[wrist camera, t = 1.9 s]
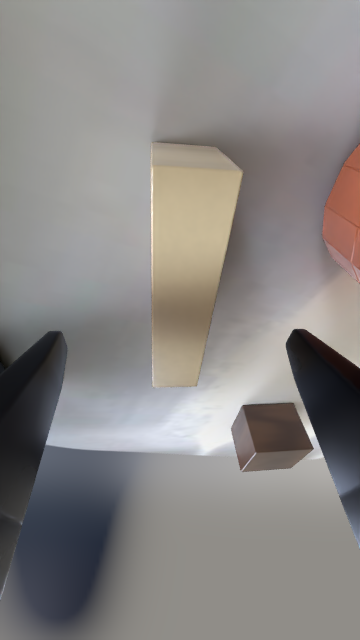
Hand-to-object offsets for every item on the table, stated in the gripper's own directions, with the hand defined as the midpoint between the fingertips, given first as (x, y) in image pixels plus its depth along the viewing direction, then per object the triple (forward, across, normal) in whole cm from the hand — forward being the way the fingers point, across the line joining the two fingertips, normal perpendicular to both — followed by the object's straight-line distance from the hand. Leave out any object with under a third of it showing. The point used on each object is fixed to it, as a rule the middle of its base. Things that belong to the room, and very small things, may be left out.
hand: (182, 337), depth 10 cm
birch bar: (+5, 0, 0) cm, 5 cm away
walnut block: (+5, -11, +18) cm, 22 cm away
